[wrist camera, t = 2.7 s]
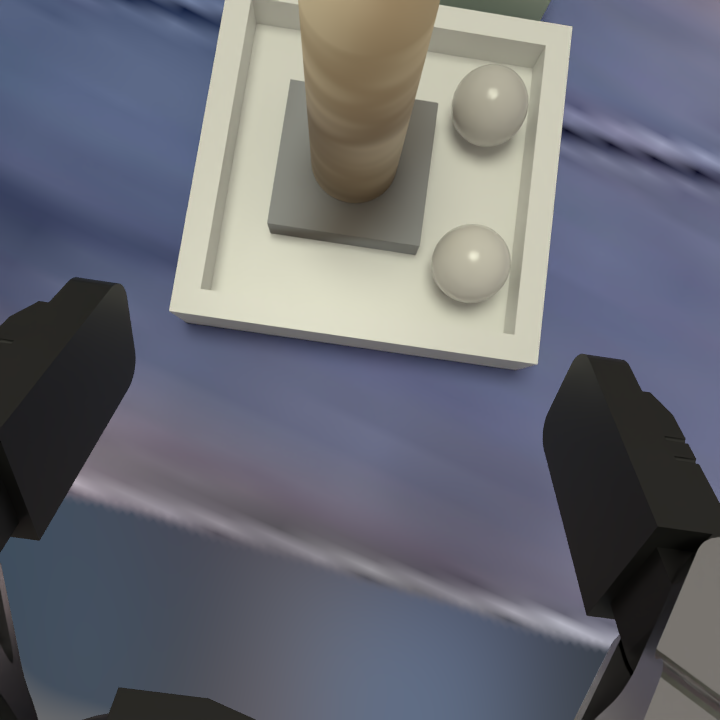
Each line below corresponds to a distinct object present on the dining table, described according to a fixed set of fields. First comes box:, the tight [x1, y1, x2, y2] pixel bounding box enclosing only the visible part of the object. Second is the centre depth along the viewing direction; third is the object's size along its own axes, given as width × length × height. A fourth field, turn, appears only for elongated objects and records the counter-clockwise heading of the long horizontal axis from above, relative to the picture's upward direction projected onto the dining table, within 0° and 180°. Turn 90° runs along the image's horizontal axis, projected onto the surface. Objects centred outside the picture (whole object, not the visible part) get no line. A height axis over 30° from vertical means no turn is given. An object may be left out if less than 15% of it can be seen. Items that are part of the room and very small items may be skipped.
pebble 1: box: [451, 64, 529, 147], centre depth 22 cm, size 3×3×3 cm
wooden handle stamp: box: [267, 0, 440, 255], centre depth 18 cm, size 6×6×10 cm
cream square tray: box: [169, 0, 572, 370], centre depth 23 cm, size 14×14×2 cm
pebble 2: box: [431, 224, 511, 303], centre depth 22 cm, size 3×3×3 cm
